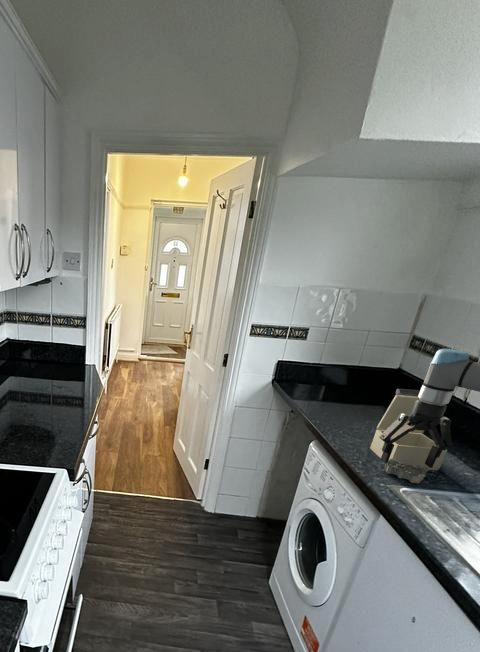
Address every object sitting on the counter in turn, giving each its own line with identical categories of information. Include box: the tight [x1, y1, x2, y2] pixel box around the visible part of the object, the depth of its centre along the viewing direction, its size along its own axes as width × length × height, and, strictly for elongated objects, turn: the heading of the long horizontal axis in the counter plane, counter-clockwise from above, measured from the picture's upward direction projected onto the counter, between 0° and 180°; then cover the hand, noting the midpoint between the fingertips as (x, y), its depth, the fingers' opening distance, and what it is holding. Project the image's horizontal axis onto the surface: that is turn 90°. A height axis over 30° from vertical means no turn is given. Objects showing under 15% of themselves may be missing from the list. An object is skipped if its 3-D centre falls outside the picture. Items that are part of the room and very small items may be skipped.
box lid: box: [376, 388, 425, 434], centre depth 146 cm, size 14×16×8 cm
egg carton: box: [383, 459, 429, 484], centre depth 133 cm, size 11×8×4 cm
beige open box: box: [369, 429, 448, 471], centre depth 144 cm, size 14×16×8 cm
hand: (405, 463), depth 132 cm, fingers open, 13 cm apart
